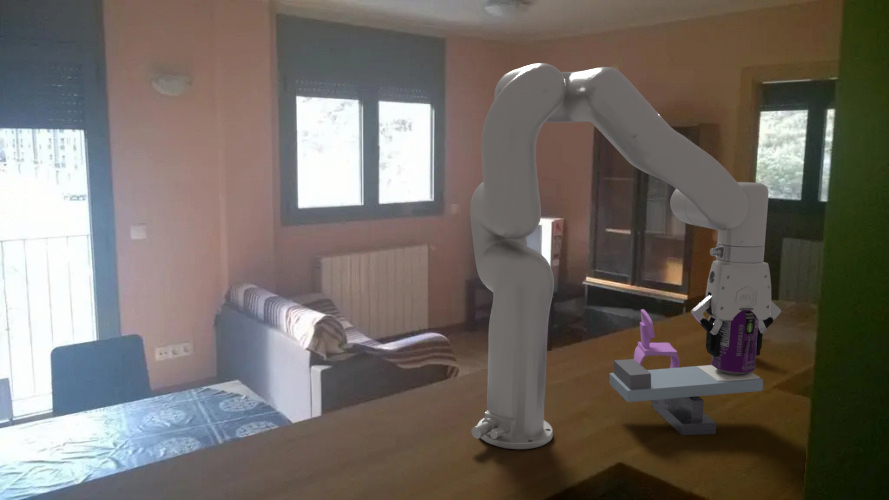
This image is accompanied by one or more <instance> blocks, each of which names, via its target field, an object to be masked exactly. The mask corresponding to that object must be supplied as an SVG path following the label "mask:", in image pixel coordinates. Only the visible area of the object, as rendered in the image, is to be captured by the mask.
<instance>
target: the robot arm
mask: <svg viewBox="0 0 889 500" xmlns="http://www.w3.org/2000/svg"><path fill="white" fill-rule="evenodd" d="M493 96H494V101H493V102H492V104H491V105H490V107H489V110H488V111H487V113H486V117H485V118H484V122H483V125H482V132H481V139H480V140H481V141H480V146H481V147H480V150H481V151H480V152H481V166H482V167H481V169H482V182H481V183H480V184H479V185H478V186H477V187H476V188H475V190H474V191H473V194H472V197H471V200H470V205H469V206H470V207H469V216H470V226H471V234H472V235H471V236H472V244H473V252H474V253H473V254H474V260H475V266H476V271H477V276H478V278H479V279H480V281H481V283H482V284H483V285H484V286H485V287H486V288H487V289H488V290H489V291H491V292H492V294H493V295H492V296H493V297H492V305H491V310H490V314H489V315H490V316H489V324H488V351H487V352H488V354H487V355H488V356H487V357H488V358H487V384H486V385H487V389H486V391H487V392H486V394H487V395H486V411H485V412H484V417H483V418H481V419H480V420H479V421H478V423H477V425H475V426H472V428H471V431H470V432H471V433H470V434H471V435H472V437H473V438H474V439H477V440H478V439H481V440H482V441H484V442H486V443H487V444H490V445H492V446H495V447H499V448H503V449H509V450H511V449H512V450H530V449H534V448H535V449H536V448H539V447H542V446H544V445H547V444H548V443H550V441H551V440H552V439H553V432H554V429H553V426H551V424H550V423H549V422H547V421H546V420H545V405H546V404H545V403H546V402H545V399H546V378H547V377H546V375H547V356H548V355H547V352H548V348H547V347H548V346H547V345H548V330H549V329H548V326H549V317H550V311H551V304H552V299H553V296H554V288H555V277H554V272H553V269H552V266H551V265H550V262H548V260H547V258H546V257H544V255H543V254H542V253H540V252H539V251H537V250H535V249H534V248H531V247H528V243H527V237H529V236H531V235H532V234H533V233H534V232H535V231H536V230H537V229H538V227H539V226H540V225H539V224H540V222H541V217H542V205H541V196H540V188H539V187H540V186H539V177H538V169H537V166H538V165H537V141H538V137H539V134H540V131H541V129H542V127H543V125H544V124H545V123H587V122H588V123H589V122H590V123H591V124H592V125H593V126H594V127H596V129H597V130H598V132H600V133H601V134H602V135H603V137H605V139H607V141H609V142H610V144H611V145H612V147H614V148H615V149H616V150H617V151H618V152H619V154H620V155H621V156H623V158H624V159H625V160H626V161H627V162H628V163H629V164H630V165H632V166H633V167H635V168H637V170H640V171H641V172H644V173H646V174H648V175H649V176H653V177H655V178H657V179H660V180H661V181H663V182H665V183H667V184H668V185H670V186H671V187H673V188H675V189H674V191H673V193H672V195H671V197H670V202H669V204H670V205H669V206H670V209H671V212H672V214H673V216H675V217H676V218H677V219H678V220H679V221H680V222H683V223H685V224H687V225H692V226H697V227H700V228H701V227H702V228H706V229H711V230H716V231H717V243H715V245H716V246H715V247H713V248H712V247H711V248H710V249H709V254H710V256H711V257H715V259H716V260H713V261H712V263H711V267H710V270H709V275H708V279H707V283H706V289H705V297H704V299H703V300H701V301H700V302H699V303H697V305H696V306H694V307H693V308H692V309H691V310H690V313H691V315H692V316H693V317H694V319H695V320H696V322H698V324H699V325H700V326H701V327H702V328H703V330H705V331H706V335H705V336H706V337H705V350H706V351H707V353H708V354H710V355H711V357H712V356H714V357H718V356H719V351H720V335H719V334H718V331H719V329H720V327H721V325H722V322H723V321H732V320H733V318H734V317H735V316H736V315H737V314H738V313H739V312H741V311H742V310H739V308H753V310H750V311H752V312H753V313H754V314H755V315H756V317H757V318H758V321H759V325H758V337H757V348H756V357H758V356H761V350H762V348H763V336H764V334H765V333H766V332H767V329H768V328H769V327H770V326H771V325H772V324H773V323H774V320H776V319H777V317H778V316H779V315H780V314H781V313H782V310H781V308H779V306H777V305H776V304H775V303H774V302H773V301H772V282H771V273H770V266H769V263H768V262H764V259H765V258H764V257H765V248H766V247H765V246H766V245H765V244H766V232H767V220H768V219H767V218H768V210H769V209H768V207H769V206H768V205H769V189H768V186H767V185H765V184H763V183H759V182H751V181H750V182H749V181H748V182H747V181H737V180H736V179H735V178H734V177H733V175H731V174H730V172H729V171H728V170H727V169H726V167H724V166H723V165H722V164H721V163H720V161H718V160H717V159H715V157H713V156H712V155H711V154H709V153H708V152H707V151H705V150H704V149H703V148H701V147H700V146H698V145H697V144H695V143H694V142H693V141H691V140H690V139H688V138H687V137H686V136H685V135H683V134H681V133H680V132H678V131H676V130H675V129H674V128H673V127H672V126H670V124H669V123H667V121H666V120H665V119H664V118H663V116H661V115H660V113H658V111H657V110H656V109H655V108H654V107H653V106H652V104H651V103H650V102H649V101H648V100H647V99H646V98H645V97H644V95H643V94H641V92H640V91H639V90H638V89H637V88H636V87H635V85H634V84H633V83H632V82H631V81H630V80H629V79H628V78H627V77H626V76H625V75H624V74H623V73H622V72H621V71H619V70H618V69H616V68H613V67H609V66H600V67H595V68H590V69H586V70H580V71H561V70H560V69H558V68H557V67H556V66H555V65H552V64H550V63H543V62H537V63H532V64H529V65H525V66H522V67H519V68H516V69H513V70H511V71H509V72H508V73H507V72H506V73H505V74H504V75H503V76H502V77H501V78H500V79H499V81H498V82H497V84H496V86H495V89H494V95H493ZM704 313H706V314H707V315H709V316H708V317H707V318H706V316H705V315H704ZM715 319H716V320H715Z"/></svg>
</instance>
